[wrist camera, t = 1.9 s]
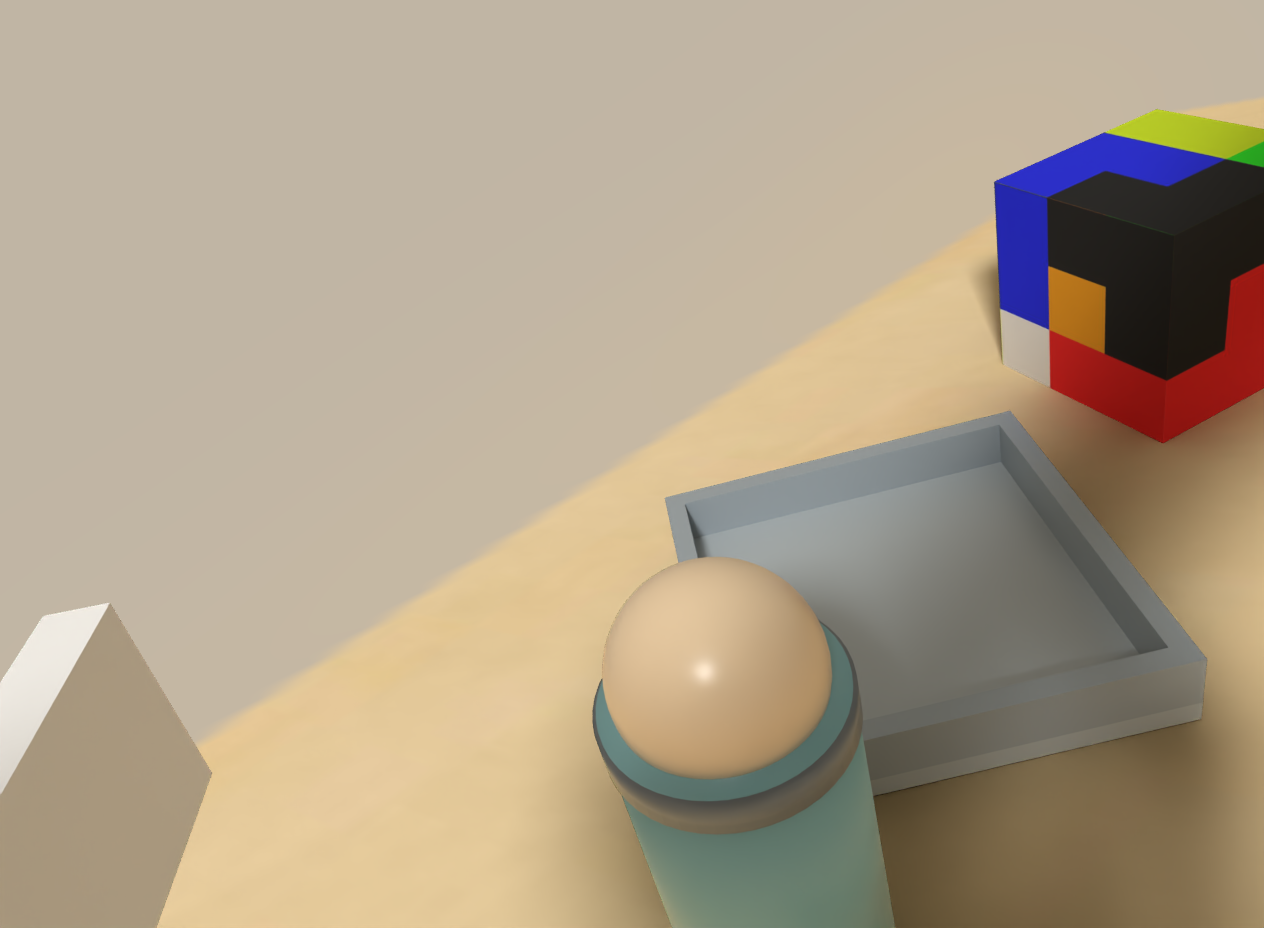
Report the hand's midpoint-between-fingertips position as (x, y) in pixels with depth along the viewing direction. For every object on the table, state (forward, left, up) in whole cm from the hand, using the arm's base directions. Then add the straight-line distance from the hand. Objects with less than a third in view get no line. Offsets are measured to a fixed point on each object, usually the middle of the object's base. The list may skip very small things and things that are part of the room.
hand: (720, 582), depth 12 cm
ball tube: (0, -8, -22) cm, 24 cm away
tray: (-7, -21, -22) cm, 32 cm away
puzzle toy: (-24, -34, -23) cm, 47 cm away
